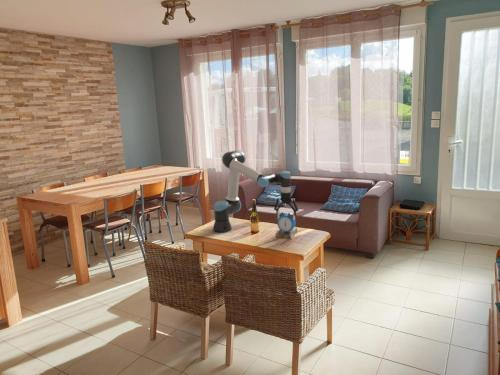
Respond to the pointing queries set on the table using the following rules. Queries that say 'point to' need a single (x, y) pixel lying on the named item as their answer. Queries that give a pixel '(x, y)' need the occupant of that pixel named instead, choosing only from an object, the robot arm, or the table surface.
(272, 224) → the table surface
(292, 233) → the plinth
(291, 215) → the alarm clock
